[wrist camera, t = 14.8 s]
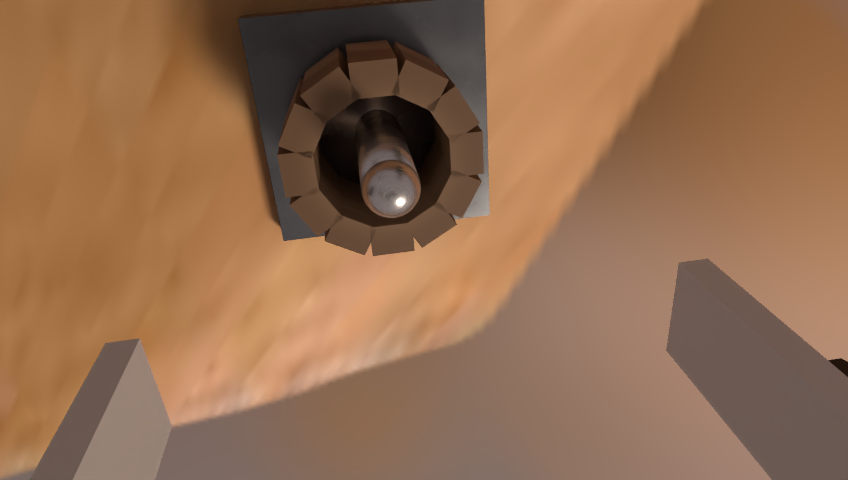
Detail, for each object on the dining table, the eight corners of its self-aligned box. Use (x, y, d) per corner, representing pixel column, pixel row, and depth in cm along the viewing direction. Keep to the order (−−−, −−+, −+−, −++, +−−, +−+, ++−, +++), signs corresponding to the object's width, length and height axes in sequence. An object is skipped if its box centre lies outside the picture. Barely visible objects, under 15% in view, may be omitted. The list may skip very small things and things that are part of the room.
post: (285, 231, 35) (266, 347, 25) (241, 15, 29) (195, 54, 20) (484, 206, 36) (542, 308, 26) (478, -7, 30) (548, 20, 21)
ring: (303, 221, 32) (299, 265, 28) (272, 51, 28) (260, 72, 24) (465, 201, 33) (485, 241, 29) (457, 32, 29) (480, 49, 25)
